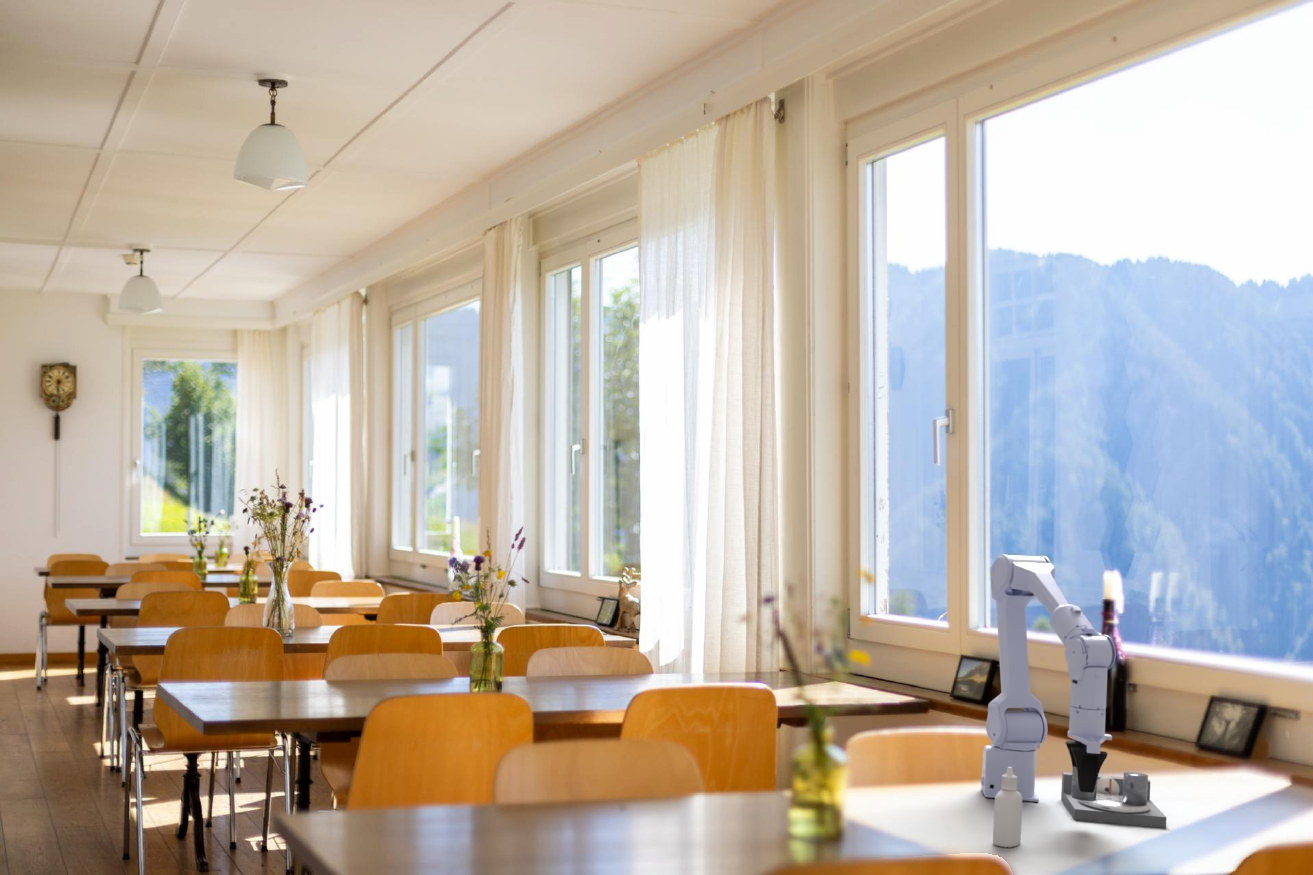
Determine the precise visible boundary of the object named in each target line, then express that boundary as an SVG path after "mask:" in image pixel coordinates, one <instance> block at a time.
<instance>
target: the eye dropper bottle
mask: <svg viewBox="0 0 1313 875" xmlns="http://www.w3.org/2000/svg"><path fill="white" fill-rule="evenodd" d="M1017 778H1018V777H1017V776H1015V775H1014V774H1013V769H1012V767H1008V768H1007V772H1006V774H1004V775H1002V780H1001V788H1002V789H1001V790H1000V791H999V792H998V793H997V795H996V797H995V798H994V809H993V810H994V811H993V829H992V830H993V833H992V844H993V845H994V846H995V847H996V846H997V847H1000V848H1001V847H1002V848H1006V849H1007V847H1008V848H1013V846H1014V847H1017V846H1019V845H1020V844H1021V842H1022V841H1021V840H1022V820H1023V819H1022V818H1023V817H1022V816H1023V800H1022V795H1021V794H1020V793H1019V792H1018V791H1016V790H1017Z"/></svg>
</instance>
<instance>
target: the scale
mask: <svg viewBox="0 0 1313 875" xmlns="http://www.w3.org/2000/svg"><path fill="white" fill-rule="evenodd" d="M1061 774H1062V775H1061V798H1060V799H1061V801H1062V803H1063V805H1064V806H1065V807H1066V810H1067V811H1068V812H1069V814H1070V815H1071V817H1072V819H1073V820H1075V821H1085V822H1093V823H1094V822H1097V823H1106V824H1118V825H1119V824H1120V825H1131V826H1140V827H1141V826H1142V827H1152V828H1160V829H1161V828H1163V829H1167V816H1166V815H1165V814H1164V812H1162V811H1161V809H1160V808H1158V806H1156V805H1155V803H1154V802H1152V800H1151V780H1149V779H1148V789H1147V803H1149V804H1150V811H1148V812H1145V813H1135V814H1131V813H1116V812H1109V811H1103V810H1098V809H1094V808H1090V807H1087V806H1085V805H1082V804H1080V803H1079V802H1078V799H1074V798H1072V797H1071V795H1072V772H1068V771H1067V772H1066V771H1062V773H1061ZM1123 778H1124V776H1114V775H1104V774H1103V775H1102V774H1098V778H1097V793H1108V794H1117V795H1123Z"/></svg>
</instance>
